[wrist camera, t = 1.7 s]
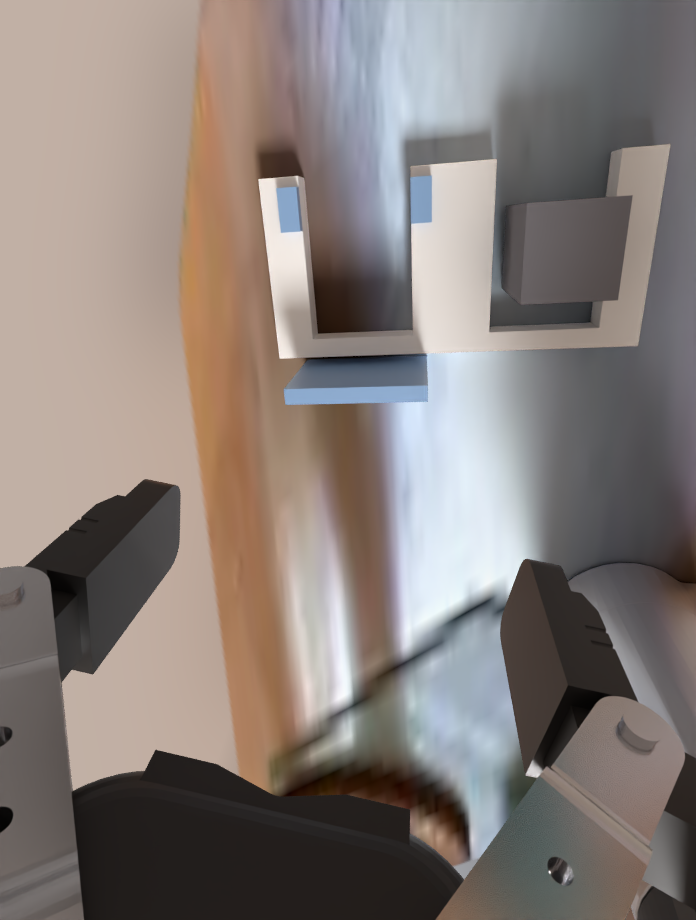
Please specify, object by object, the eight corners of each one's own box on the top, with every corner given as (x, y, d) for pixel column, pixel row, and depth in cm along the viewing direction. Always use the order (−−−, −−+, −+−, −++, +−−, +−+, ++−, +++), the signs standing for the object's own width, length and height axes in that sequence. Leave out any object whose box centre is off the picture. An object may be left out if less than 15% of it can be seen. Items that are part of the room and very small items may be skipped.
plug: (589, 199, 26) (632, 195, 21) (579, 284, 28) (617, 300, 22) (506, 206, 27) (527, 202, 21) (501, 288, 28) (520, 304, 23)
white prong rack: (656, 148, 25) (721, 128, 19) (623, 363, 29) (669, 396, 24) (266, 181, 28) (229, 172, 22) (288, 373, 32) (261, 405, 26)
